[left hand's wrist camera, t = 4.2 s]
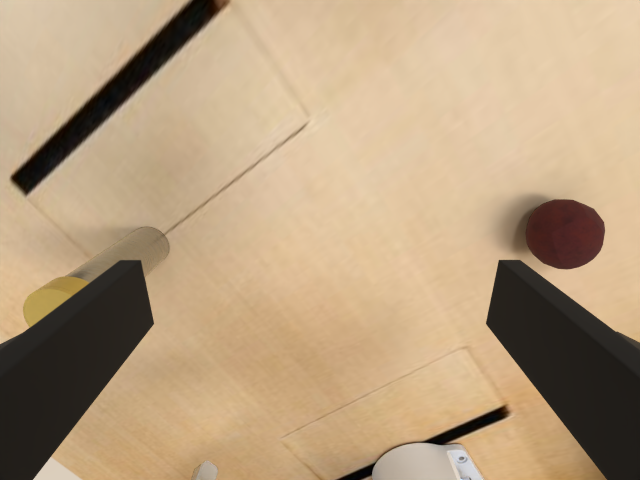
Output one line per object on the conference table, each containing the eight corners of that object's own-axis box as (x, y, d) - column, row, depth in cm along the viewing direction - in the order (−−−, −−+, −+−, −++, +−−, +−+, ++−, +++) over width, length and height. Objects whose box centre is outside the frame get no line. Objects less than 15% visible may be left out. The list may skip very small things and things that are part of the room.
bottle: (158, 269, 43) (77, 348, 29) (123, 248, 42) (22, 319, 28) (176, 241, 42) (101, 310, 28) (141, 219, 41) (44, 278, 27)
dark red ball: (527, 263, 43) (564, 291, 36) (502, 213, 41) (537, 233, 34) (584, 232, 41) (634, 255, 35) (562, 179, 39) (611, 193, 33)
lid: (92, 339, 31) (75, 356, 29) (34, 308, 30) (13, 323, 28) (117, 298, 29) (102, 312, 27) (58, 264, 28) (37, 276, 26)
